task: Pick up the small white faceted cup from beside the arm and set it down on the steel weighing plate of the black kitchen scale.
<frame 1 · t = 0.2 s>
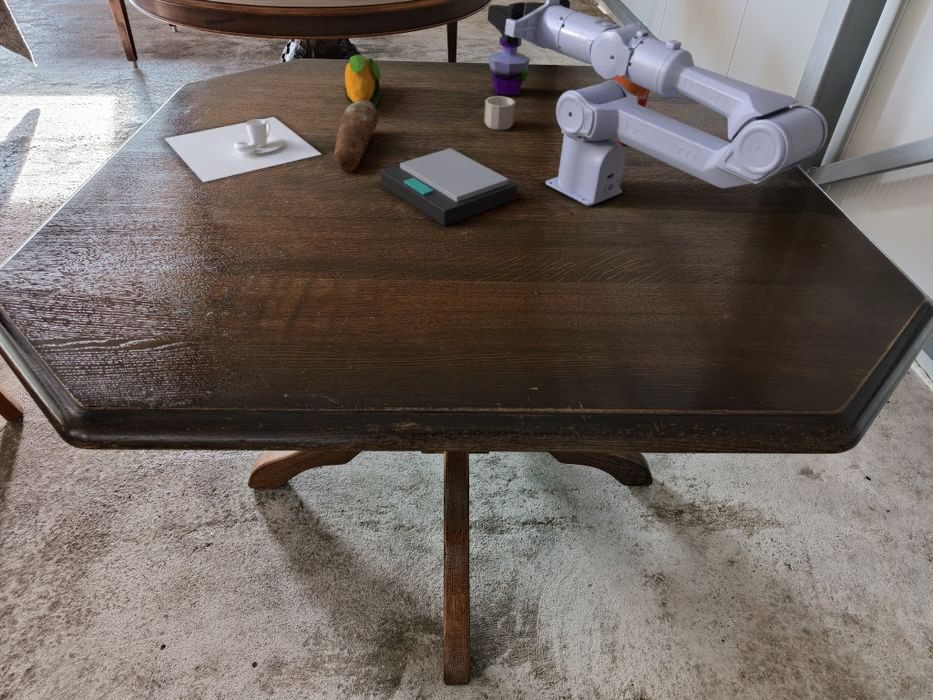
hand: (508, 11, 97), 22 cm above the table, tool horizontal, fingers open, 7 cm apart
brown yam: (358, 152, 107), on the table
scale: (447, 192, 97), on the table
white faceted cup: (498, 125, 118), on the table
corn: (363, 102, 126), on the table
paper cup: (620, 140, 115), on the table
teacup and saucer: (242, 147, 107), on the table
potion bottle: (506, 93, 133), on the table
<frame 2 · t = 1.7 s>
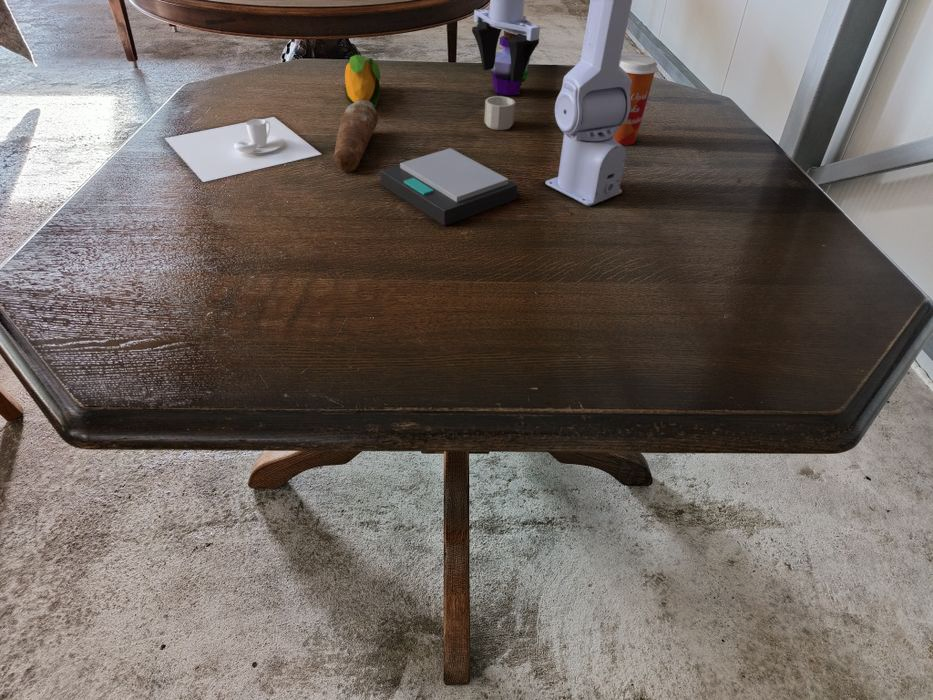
hand: (502, 74, 112), 9 cm above the table, tool pointing down, fingers open, 7 cm apart
nothing on the table moved.
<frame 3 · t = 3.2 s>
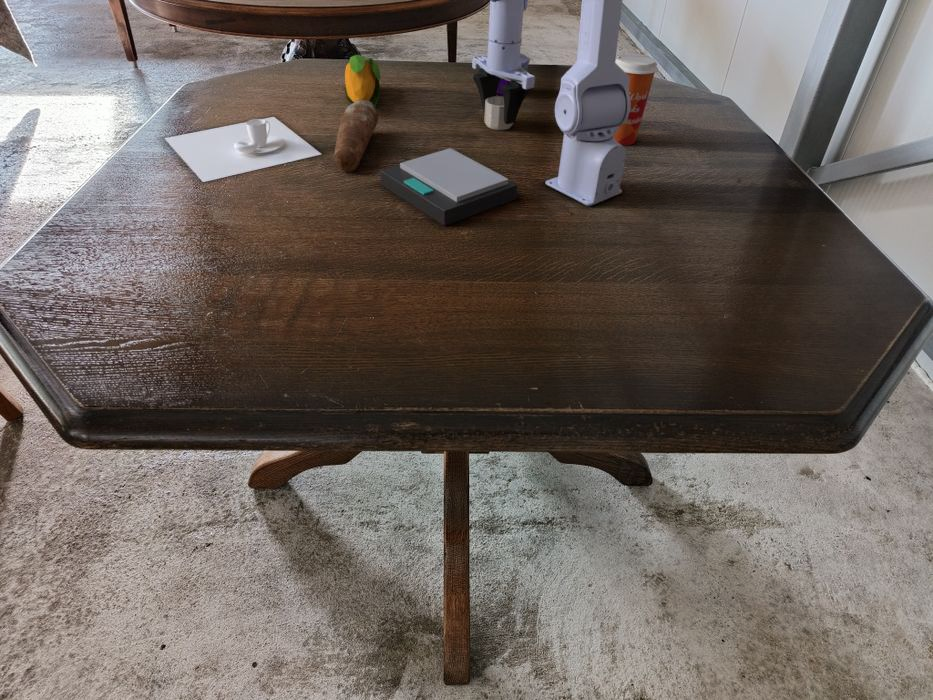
hand: (499, 118, 117), 1 cm above the table, tool pointing down, fingers closed on white faceted cup, 5 cm apart
white faceted cup: (498, 125, 118), on the table, touching gripper
everything else where it was.
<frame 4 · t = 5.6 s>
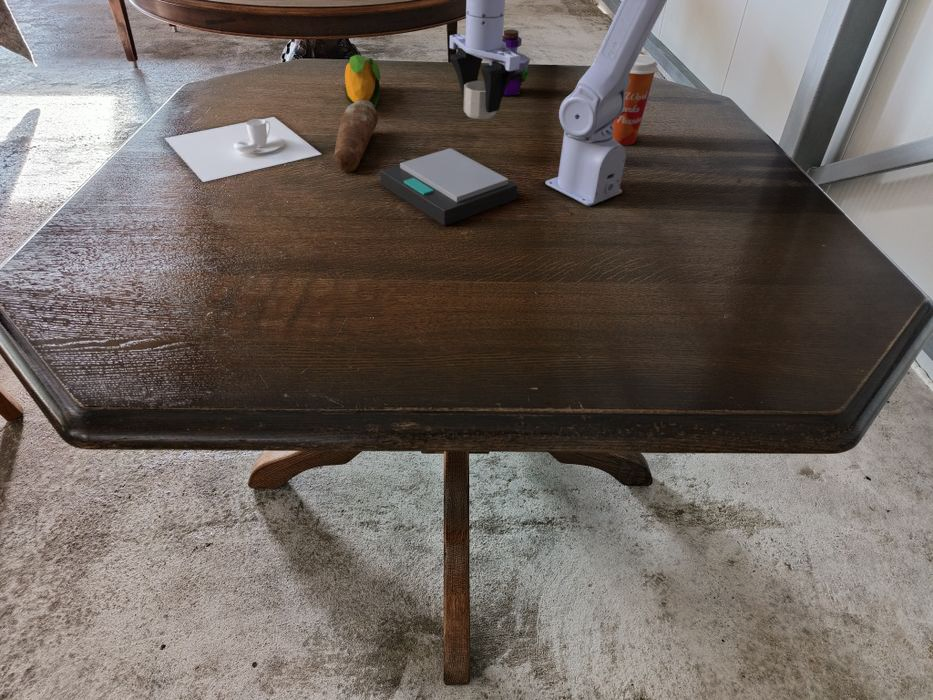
hand: (480, 105, 102), 8 cm above the table, tool pointing down, fingers closed on white faceted cup, 5 cm apart
white faceted cup: (480, 114, 103), point 7 cm above the table, touching gripper
everything else where it was.
when the fingers open (5 cm above the table, at t = 8.3 s): white faceted cup stays where it is, resting on scale.
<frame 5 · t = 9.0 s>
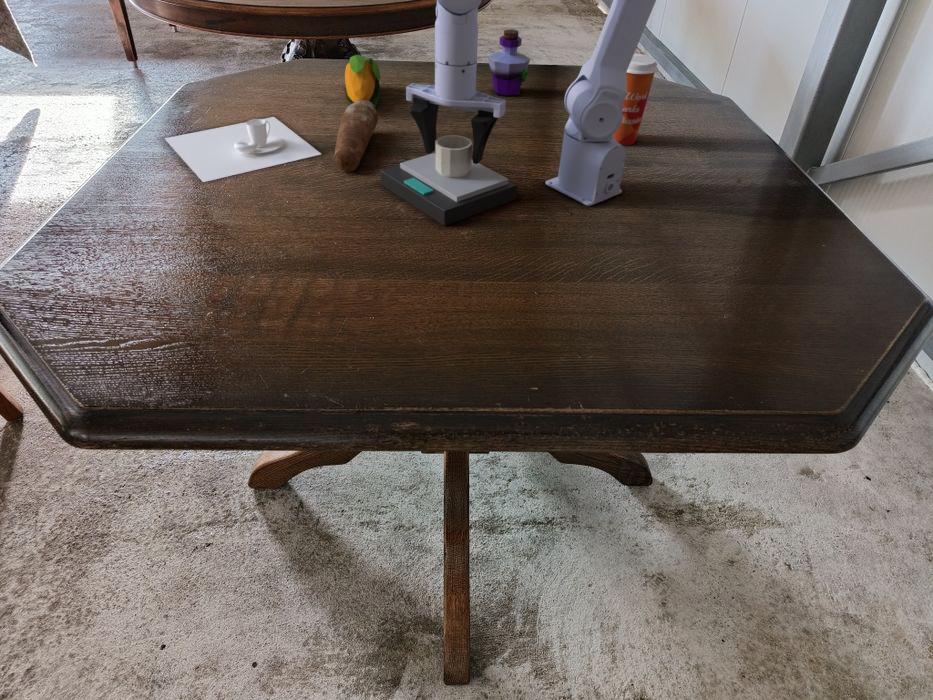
hand: (453, 156, 94), 6 cm above the table, tool pointing down, fingers open, 7 cm apart
white faceted cup: (452, 171, 95), point 3 cm above the table, touching scale
everything else where it was.
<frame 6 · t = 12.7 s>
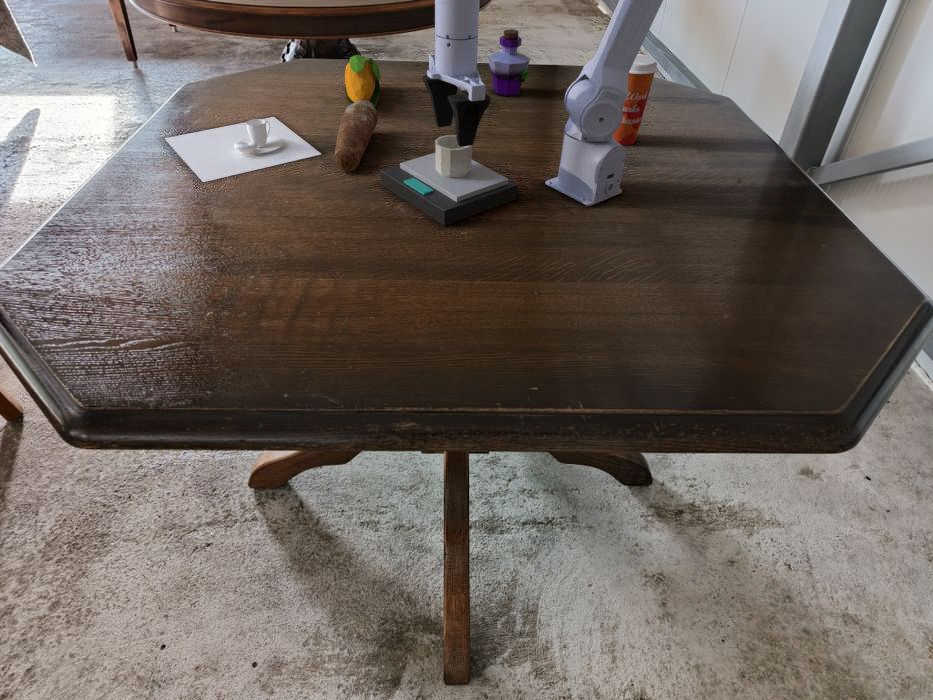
hand: (454, 135, 92), 9 cm above the table, tool pointing down, fingers open, 7 cm apart
nothing on the table moved.
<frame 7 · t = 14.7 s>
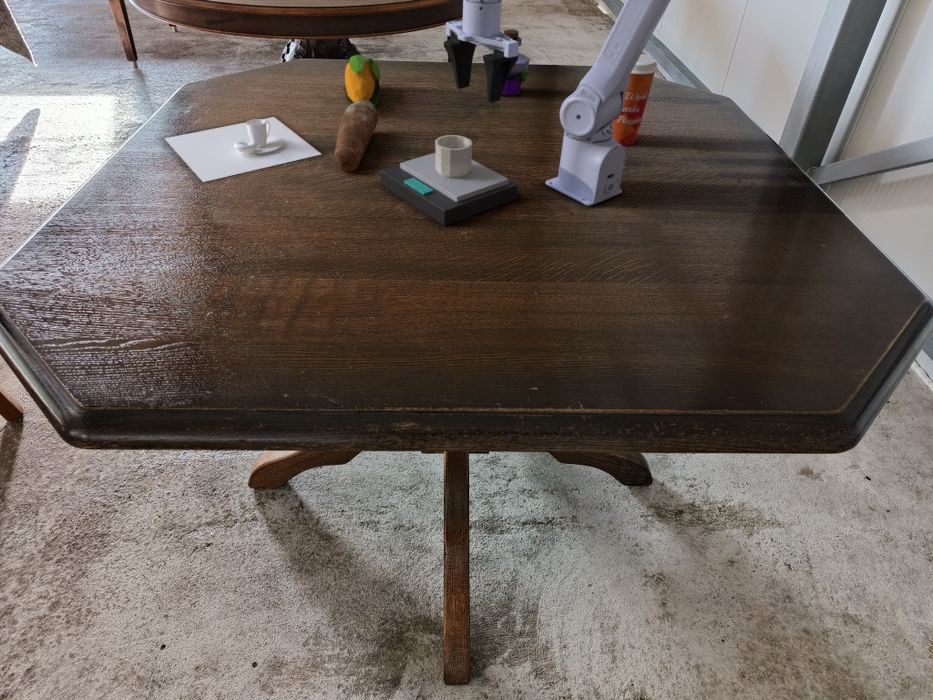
hand: (478, 93, 101), 10 cm above the table, tool pointing down, fingers open, 7 cm apart
nothing on the table moved.
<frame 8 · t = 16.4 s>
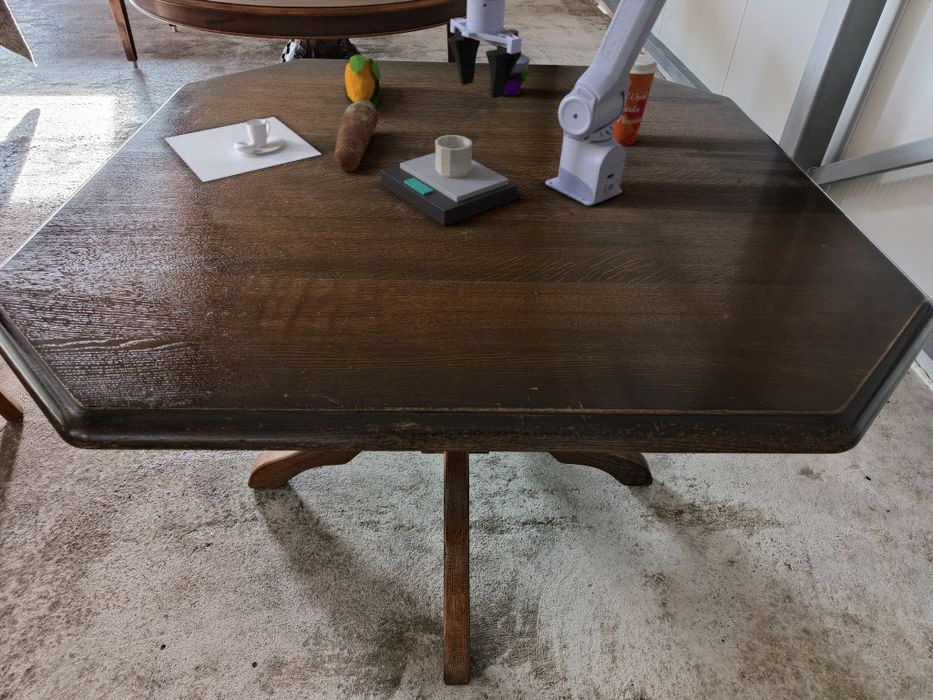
hand: (481, 89, 102), 10 cm above the table, tool pointing down, fingers open, 7 cm apart
nothing on the table moved.
at the end: white faceted cup inside the target area on the scale (0.1 cm from its centre), point 3.2 cm above the scale's base; white faceted cup tilted 0°; the gripper is holding nothing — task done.
